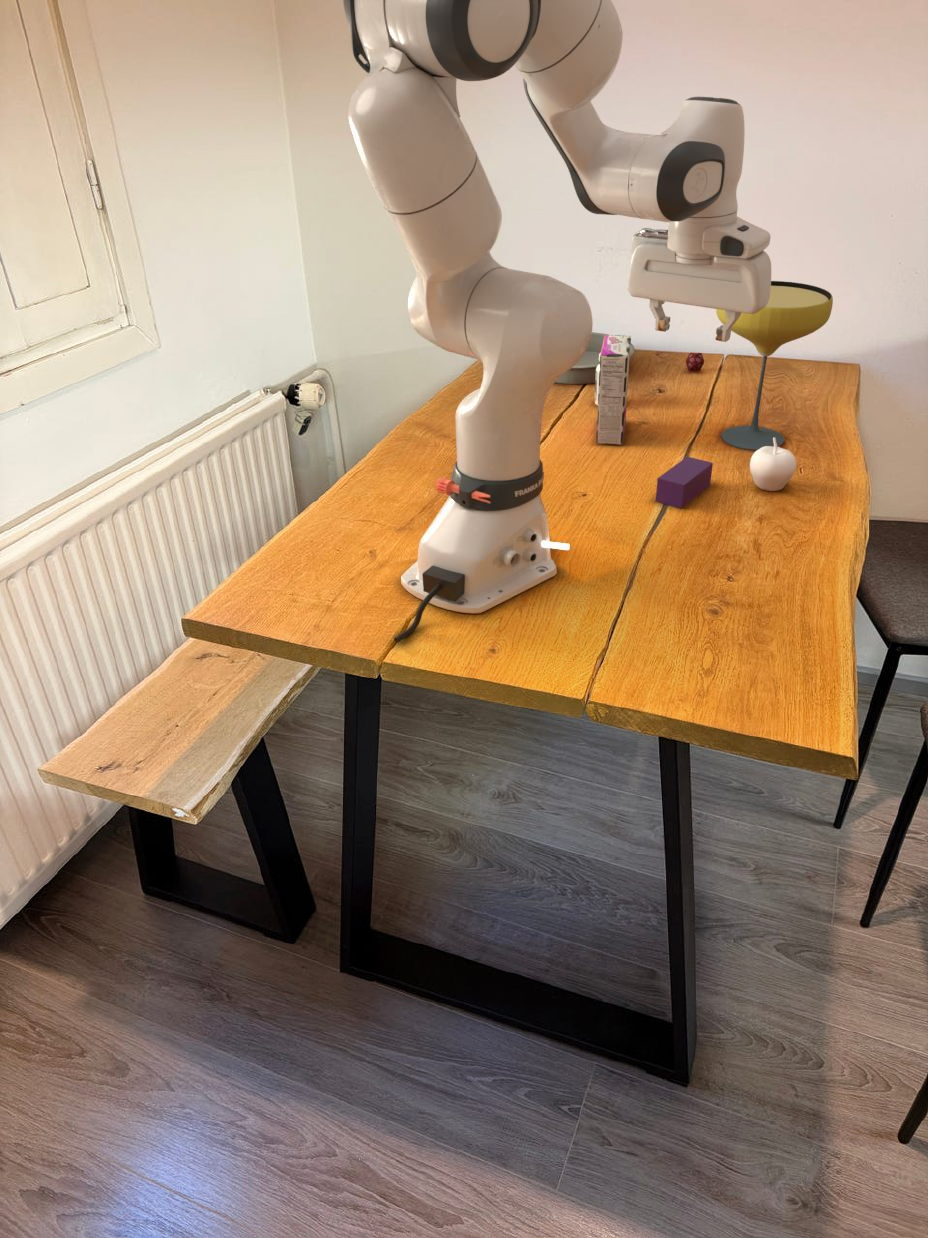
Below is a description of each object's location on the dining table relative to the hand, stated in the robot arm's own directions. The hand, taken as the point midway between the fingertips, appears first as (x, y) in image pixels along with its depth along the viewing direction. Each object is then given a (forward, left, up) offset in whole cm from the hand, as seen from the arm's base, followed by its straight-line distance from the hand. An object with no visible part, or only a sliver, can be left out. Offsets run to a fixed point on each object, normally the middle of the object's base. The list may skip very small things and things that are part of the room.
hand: (691, 334), depth 128 cm
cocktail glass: (+27, -2, -25) cm, 36 cm away
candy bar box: (+15, +20, -25) cm, 35 cm away
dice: (+55, +23, -25) cm, 64 cm away
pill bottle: (+28, +28, -25) cm, 47 cm away
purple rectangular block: (0, -2, -25) cm, 25 cm away
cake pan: (+43, +45, -25) cm, 67 cm away
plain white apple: (+10, -12, -25) cm, 29 cm away
